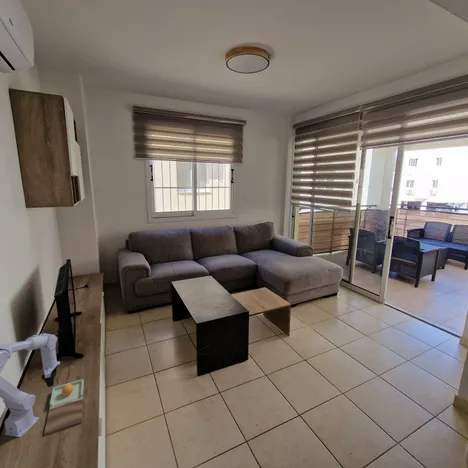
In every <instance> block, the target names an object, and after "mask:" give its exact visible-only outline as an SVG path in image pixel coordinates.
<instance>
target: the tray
mask: <svg viewBox="0 0 468 468" xmlns="http://www.w3.org/2000/svg"><path fill="white" fill-rule="evenodd" d="M67 384H71V385H73V391H72V393H71V394H69V395H63V394H62V388H63V387H64V386H65V385H67ZM83 389H84V390H85V378H80V379H79V380H75V381H72V382H71V381H70V382H67V383H64V384H61V385H57V386H52V392H51V397H50V400H49V408H50V407H53V406H56V405H59V404H62V403H66V402H69V401H72V400H75V399H79V398H82V397H83V398H84V396H83Z"/></svg>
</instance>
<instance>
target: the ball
mask: <svg viewBox="0 0 468 468" xmlns="http://www.w3.org/2000/svg"><path fill="white" fill-rule="evenodd" d="M66 384H67V383H66ZM72 391H73V385H71V384H67V385H65V386H64V387H63V388H62V394H63V395H69V394H71V393H72Z"/></svg>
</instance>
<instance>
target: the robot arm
mask: <svg viewBox="0 0 468 468" xmlns="http://www.w3.org/2000/svg"><path fill="white" fill-rule="evenodd" d="M57 341H58V337H57V336H56V335H55V334H51V333H40V334H39V335H36V334H34V335H31V336H30V337H28V338H26V339H25V340H24V341H17V342H8V343H3V344H2V343H1V344H0V398H1V399H2V402H3V403H4V406H5V408H6V409H9V411H10V414H9V416H8V417H7V418H6V419H5V421H4V427H5V428H4V429H5V433H4V435H5V436H11V437H16V438H21V437H23V436H24V434H26V433H27V432H28V431H29V430H30V429H31V428H32V427H33V426H34V425H35V424H36V423H37V422H38V421H39V420H40V417H37V416H34V415H35V414H34V410H33V406H34V405H35V402H36V396H35V394H29V393H27V392H24V391H23V390H20V389H19V388H17V387H16V386H14V384H12V383H11V382H9V381H8V380H7V379H6V378H4V377H3V376H2V375H1V373H2V371H4V368H5V366H6V364H7V362H8V360H9V359H10V358H12V354H13V353H16V352H20V351H23V350H26V351H34V350H38V349H40V355H41V362H42V370H43V372H44V374H42V375H41V380H43V381H44V382H45V384H46V386H47V387H48V388H50V387H54V383H55V377H56V375H57V370H58V366H59V365H60V363H61V361H60V360H59V359H57V352H56V348H57V347H56V346H57Z"/></svg>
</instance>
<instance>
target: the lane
mask: <svg viewBox="0 0 468 468" xmlns="http://www.w3.org/2000/svg"><path fill="white" fill-rule="evenodd" d="M84 392H85V388H84V389H83V397H82V398H79V399H75V400H72V401H69V402H66V403H62V404H59V405H56V406H53V407H50V406H49V409H48V414H47V420H46V424H45V429H44V434H43V436H44V437H46V436H48V435H52V434H54V433H56V432H60V431H62V430H65V429H68V428H71V427H72V428H73V427H75V426H78V425H80V424H82V422H83V408H84V407H83V406H84V395H85V393H84Z"/></svg>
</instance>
